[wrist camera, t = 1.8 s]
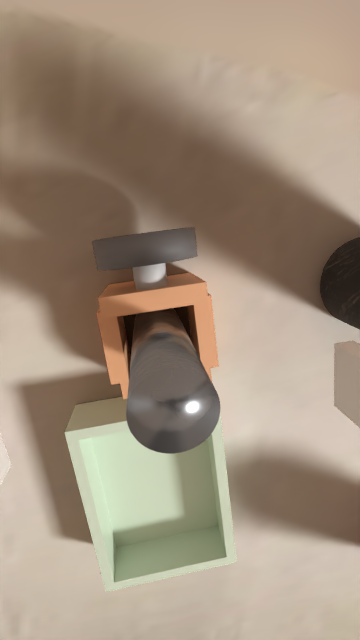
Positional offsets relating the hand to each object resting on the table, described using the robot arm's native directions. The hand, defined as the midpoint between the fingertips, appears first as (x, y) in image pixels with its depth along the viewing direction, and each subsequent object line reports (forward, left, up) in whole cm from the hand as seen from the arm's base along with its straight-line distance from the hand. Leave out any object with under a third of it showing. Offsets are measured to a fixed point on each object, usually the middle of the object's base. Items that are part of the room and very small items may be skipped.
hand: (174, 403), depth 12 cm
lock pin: (0, 0, -13) cm, 13 cm away
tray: (-13, +2, -13) cm, 19 cm away
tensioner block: (+1, 0, -13) cm, 13 cm away
